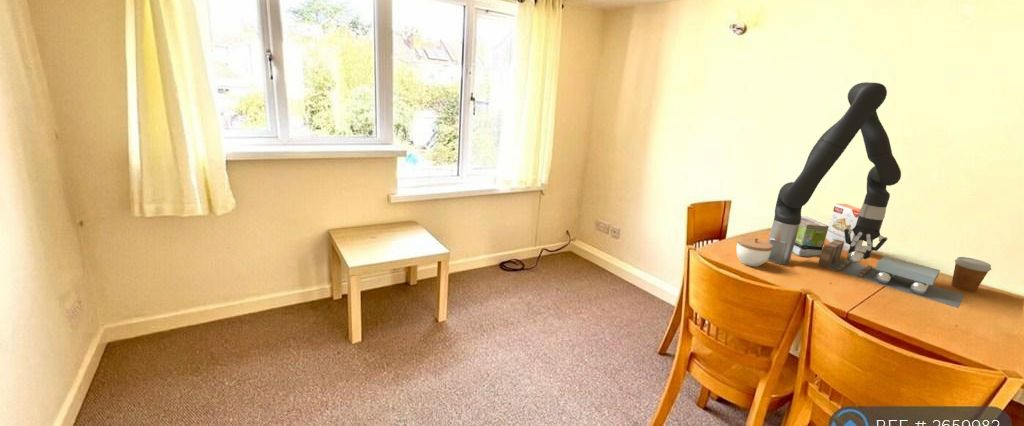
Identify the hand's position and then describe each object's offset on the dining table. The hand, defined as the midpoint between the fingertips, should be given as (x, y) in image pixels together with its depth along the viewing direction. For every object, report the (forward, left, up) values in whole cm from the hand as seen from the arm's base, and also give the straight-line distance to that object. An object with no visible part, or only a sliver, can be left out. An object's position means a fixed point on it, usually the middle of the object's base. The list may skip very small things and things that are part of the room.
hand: (858, 256), depth 170 cm
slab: (0, -15, -1) cm, 15 cm away
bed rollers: (0, -15, -6) cm, 16 cm away
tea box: (+7, +22, -7) cm, 24 cm away
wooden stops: (0, +3, -7) cm, 7 cm away
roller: (0, 0, -1) cm, 1 cm away
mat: (0, -12, -7) cm, 14 cm away
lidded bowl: (-30, +28, -7) cm, 42 cm away
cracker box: (+26, +11, -7) cm, 29 cm away
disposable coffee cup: (+17, -30, -7) cm, 35 cm away
